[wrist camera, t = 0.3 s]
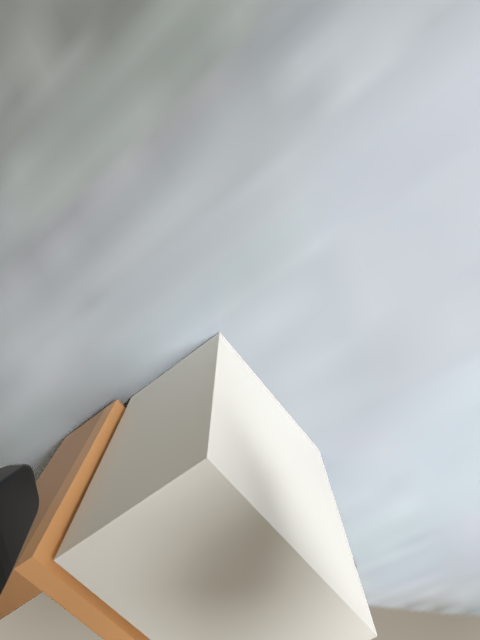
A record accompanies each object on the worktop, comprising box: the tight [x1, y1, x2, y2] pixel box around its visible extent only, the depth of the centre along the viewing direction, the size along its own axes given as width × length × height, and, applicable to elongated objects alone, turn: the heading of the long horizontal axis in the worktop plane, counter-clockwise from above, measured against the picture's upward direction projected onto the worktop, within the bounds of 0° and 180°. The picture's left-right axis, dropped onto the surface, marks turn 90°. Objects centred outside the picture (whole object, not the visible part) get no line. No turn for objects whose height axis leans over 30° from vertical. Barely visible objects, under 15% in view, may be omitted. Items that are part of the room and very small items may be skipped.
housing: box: [54, 332, 377, 640], centre depth 18 cm, size 10×6×10 cm, turn 38°
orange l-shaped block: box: [0, 399, 150, 640], centre depth 18 cm, size 6×4×10 cm, turn 38°
